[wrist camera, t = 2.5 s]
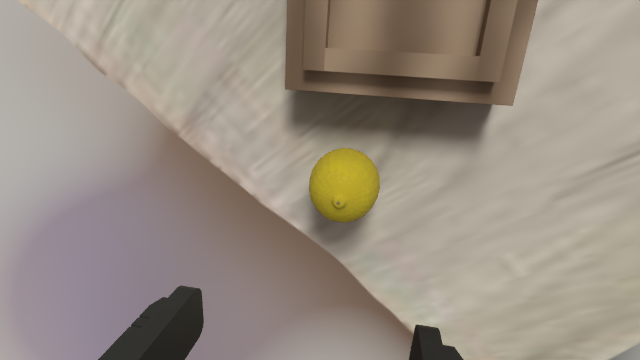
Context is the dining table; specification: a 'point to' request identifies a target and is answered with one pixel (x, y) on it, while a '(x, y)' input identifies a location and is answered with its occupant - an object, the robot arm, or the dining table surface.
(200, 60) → the dining table surface
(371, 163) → the lemon
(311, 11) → the brown wooden crate
